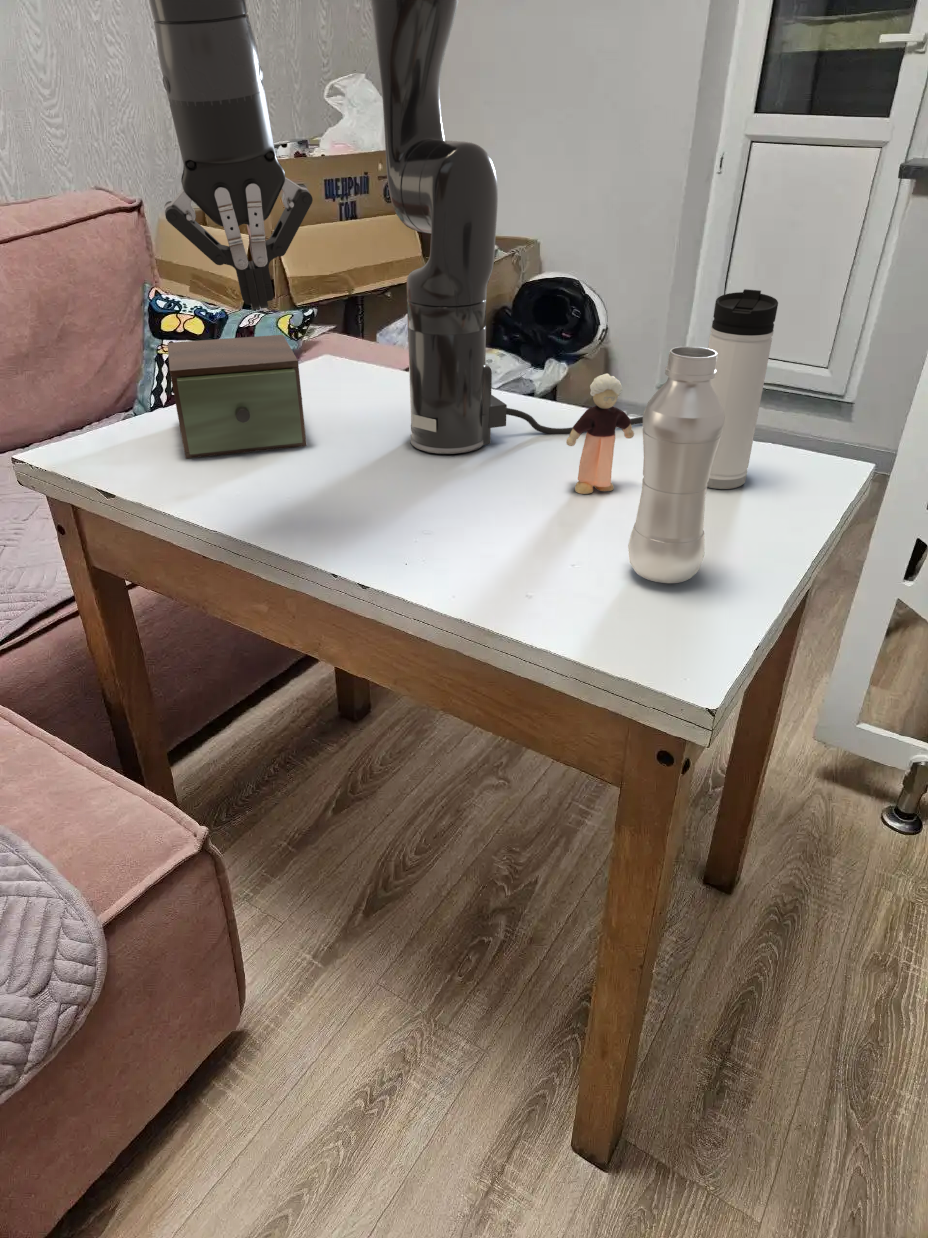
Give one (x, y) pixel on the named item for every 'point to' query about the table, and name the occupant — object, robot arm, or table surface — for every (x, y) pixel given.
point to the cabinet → (231, 370)
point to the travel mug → (739, 377)
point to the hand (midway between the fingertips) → (259, 305)
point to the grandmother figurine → (599, 435)
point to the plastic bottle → (677, 468)
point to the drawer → (240, 410)
